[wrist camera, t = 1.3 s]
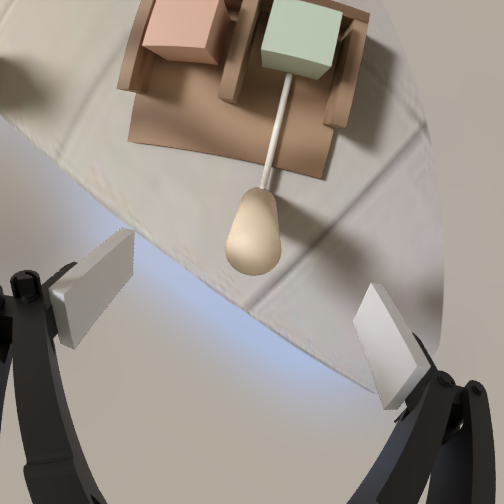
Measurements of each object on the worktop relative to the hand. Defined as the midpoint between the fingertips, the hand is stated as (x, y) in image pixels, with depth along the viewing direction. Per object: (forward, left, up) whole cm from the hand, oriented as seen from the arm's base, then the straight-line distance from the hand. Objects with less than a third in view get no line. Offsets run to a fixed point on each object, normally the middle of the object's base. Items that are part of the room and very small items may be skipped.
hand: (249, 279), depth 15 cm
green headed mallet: (-8, 0, -14) cm, 16 cm away
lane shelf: (-12, -5, -14) cm, 19 cm away
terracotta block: (-15, -9, -13) cm, 22 cm away
